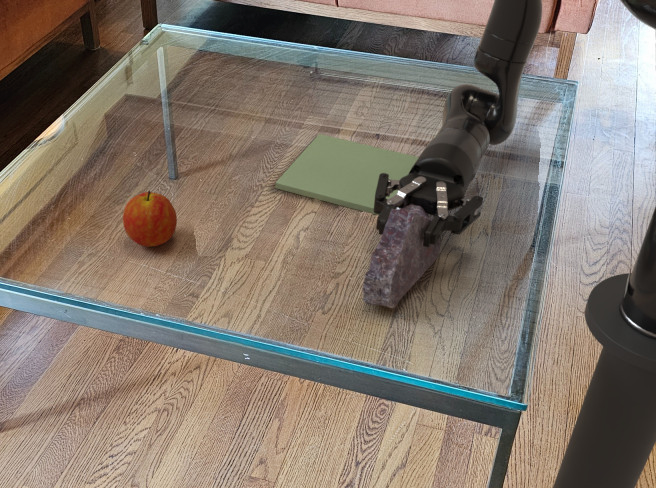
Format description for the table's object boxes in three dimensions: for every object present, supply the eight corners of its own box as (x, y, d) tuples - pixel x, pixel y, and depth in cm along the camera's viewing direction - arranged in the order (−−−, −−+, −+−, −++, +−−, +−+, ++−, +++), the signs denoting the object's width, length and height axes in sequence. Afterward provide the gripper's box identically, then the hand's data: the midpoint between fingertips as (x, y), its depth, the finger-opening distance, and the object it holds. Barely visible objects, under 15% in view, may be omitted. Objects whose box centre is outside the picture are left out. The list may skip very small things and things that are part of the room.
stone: (412, 168, 103) (356, 225, 94) (459, 185, 101) (406, 245, 91) (399, 237, 110) (345, 297, 100) (442, 254, 108) (391, 317, 98)
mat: (442, 168, 125) (443, 162, 125) (407, 223, 114) (408, 217, 114) (319, 139, 132) (319, 133, 132) (275, 188, 121) (275, 182, 121)
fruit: (115, 243, 111) (107, 192, 106) (152, 220, 115) (147, 170, 110) (151, 264, 108) (146, 212, 102) (189, 239, 112) (185, 188, 106)
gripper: (397, 130, 111) (349, 194, 100) (505, 154, 106) (468, 224, 95) (392, 179, 116) (346, 244, 105) (494, 204, 111) (458, 276, 100)
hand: (404, 234), depth 100 cm, fingers closed on stone, 5 cm apart
